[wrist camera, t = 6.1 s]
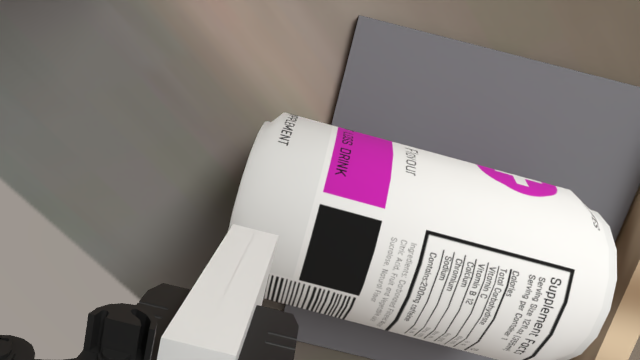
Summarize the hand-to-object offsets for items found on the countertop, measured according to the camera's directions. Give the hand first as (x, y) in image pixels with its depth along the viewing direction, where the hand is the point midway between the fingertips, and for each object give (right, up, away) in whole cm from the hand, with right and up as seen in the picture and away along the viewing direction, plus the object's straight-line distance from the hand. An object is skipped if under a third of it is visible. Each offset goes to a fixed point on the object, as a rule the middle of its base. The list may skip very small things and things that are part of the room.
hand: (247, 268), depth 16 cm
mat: (+10, +1, +11) cm, 15 cm away
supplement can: (-1, +2, +6) cm, 7 cm away
